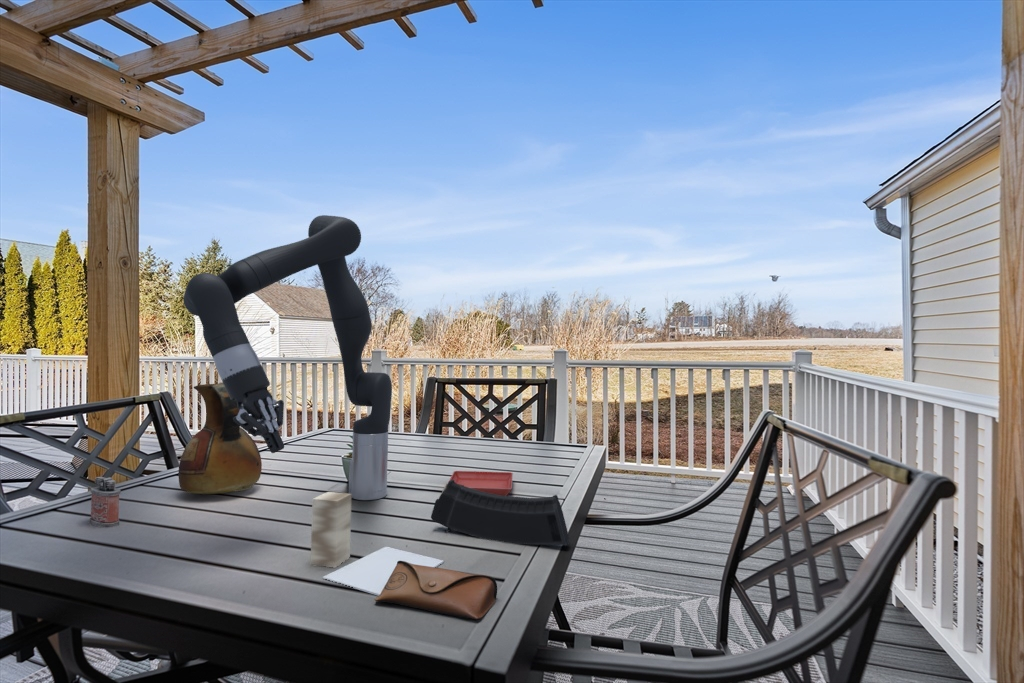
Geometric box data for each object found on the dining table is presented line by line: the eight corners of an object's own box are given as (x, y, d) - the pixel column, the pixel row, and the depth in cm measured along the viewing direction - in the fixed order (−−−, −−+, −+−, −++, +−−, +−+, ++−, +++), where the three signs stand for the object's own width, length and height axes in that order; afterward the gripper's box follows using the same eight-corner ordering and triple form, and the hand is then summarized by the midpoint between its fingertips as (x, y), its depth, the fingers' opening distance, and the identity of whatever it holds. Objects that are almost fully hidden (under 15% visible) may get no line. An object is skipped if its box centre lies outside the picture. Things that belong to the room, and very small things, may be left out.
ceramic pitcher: (239, 479, 153) (242, 379, 153) (275, 491, 141) (278, 382, 142) (164, 493, 137) (168, 381, 137) (198, 508, 125) (202, 385, 126)
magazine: (582, 503, 104) (455, 449, 114) (579, 508, 101) (449, 451, 111) (557, 580, 106) (434, 520, 116) (553, 587, 103) (427, 524, 113)
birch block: (310, 565, 93) (312, 498, 94) (326, 554, 98) (327, 491, 99) (335, 568, 92) (337, 501, 93) (349, 557, 97) (351, 493, 98)
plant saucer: (511, 500, 139) (512, 487, 139) (445, 498, 139) (445, 486, 139) (512, 483, 157) (512, 472, 157) (453, 481, 157) (453, 470, 157)
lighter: (123, 524, 113) (125, 478, 113) (106, 528, 110) (107, 481, 110) (102, 518, 116) (104, 474, 117) (85, 522, 113) (86, 477, 113)
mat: (322, 578, 88) (322, 577, 88) (385, 548, 102) (385, 546, 102) (386, 598, 82) (386, 596, 82) (444, 562, 96) (444, 560, 96)
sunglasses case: (370, 600, 79) (383, 554, 82) (388, 605, 85) (399, 562, 88) (481, 620, 74) (490, 571, 78) (492, 624, 80) (500, 578, 83)
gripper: (233, 369, 94) (273, 454, 95) (277, 359, 107) (312, 434, 108) (201, 384, 96) (240, 469, 96) (248, 373, 109) (283, 447, 109)
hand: (278, 450), depth 102 cm, fingers closed
